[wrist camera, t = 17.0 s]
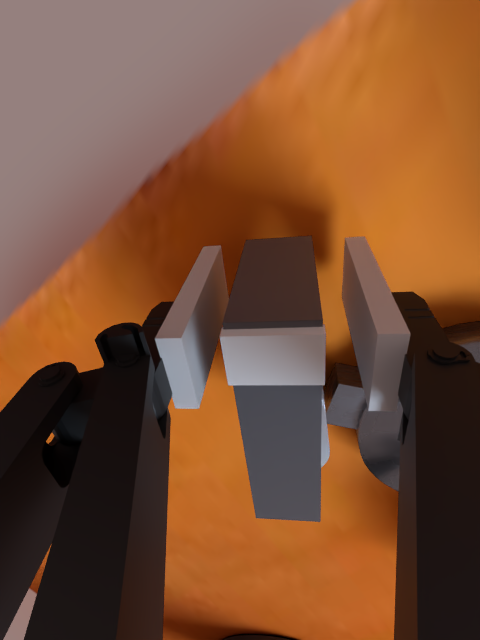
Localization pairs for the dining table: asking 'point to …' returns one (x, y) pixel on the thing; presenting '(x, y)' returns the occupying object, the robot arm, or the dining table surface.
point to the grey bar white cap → (279, 375)
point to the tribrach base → (380, 426)
